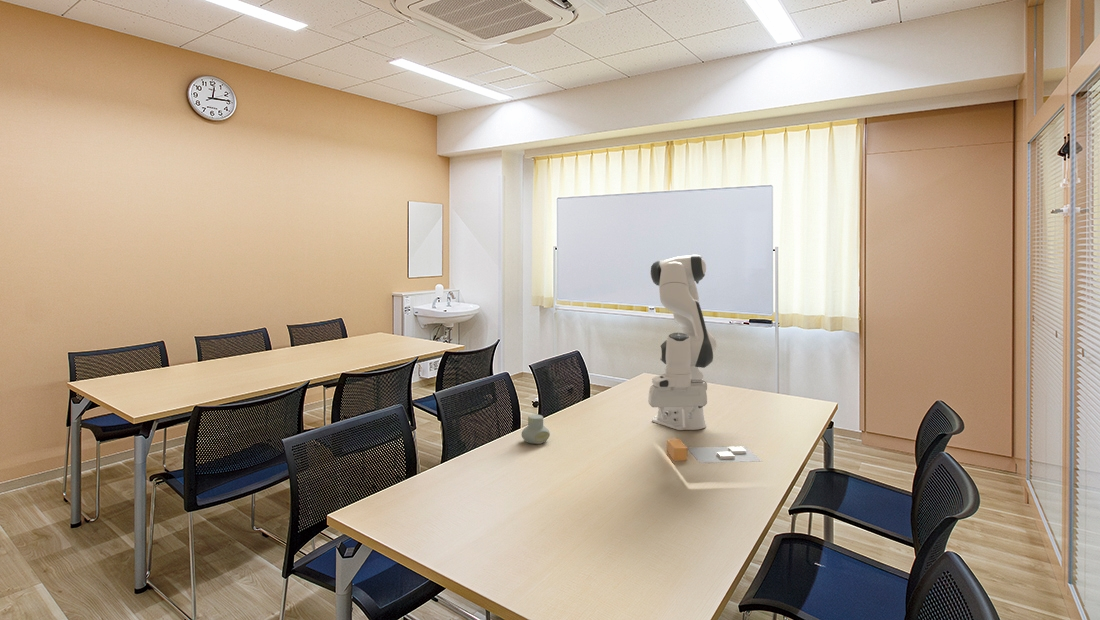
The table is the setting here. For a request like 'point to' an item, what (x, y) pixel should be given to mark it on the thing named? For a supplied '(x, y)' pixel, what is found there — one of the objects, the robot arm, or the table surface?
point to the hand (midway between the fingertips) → (677, 418)
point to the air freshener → (535, 430)
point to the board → (711, 456)
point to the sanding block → (676, 449)
